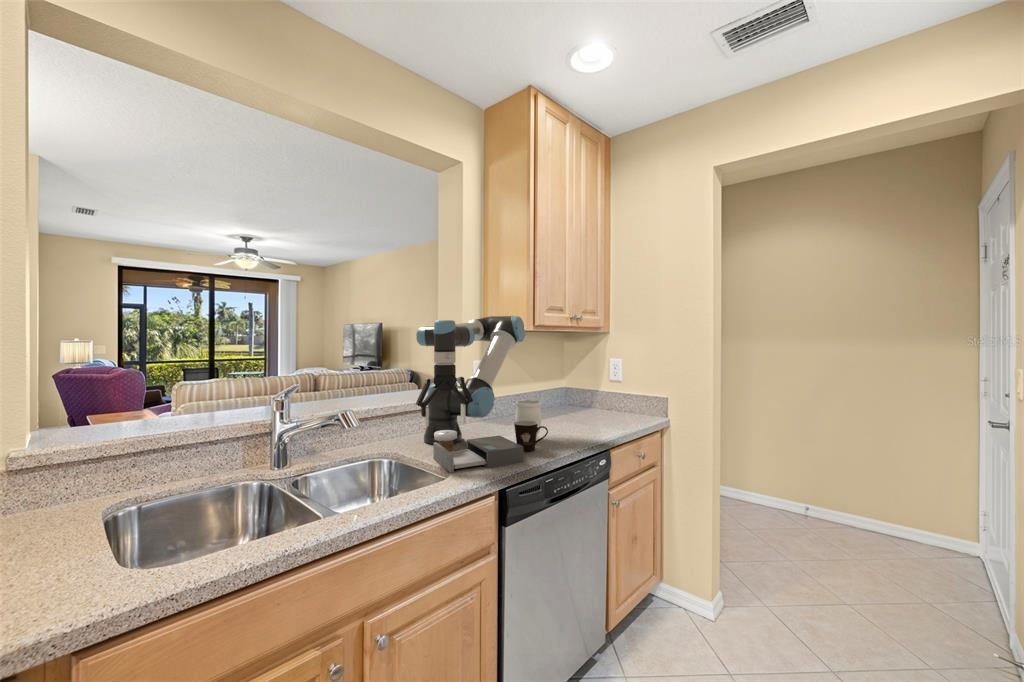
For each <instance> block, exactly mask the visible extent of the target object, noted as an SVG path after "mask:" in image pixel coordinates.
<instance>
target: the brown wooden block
mask: <svg viewBox="0 0 1024 682" xmlns="http://www.w3.org/2000/svg"><path fill="white" fill-rule="evenodd" d="M439 445H441V446H442V447H444V448H445V449H446V450H448V451H449V452H450V451H454V443H453V440H450V441H439Z"/></svg>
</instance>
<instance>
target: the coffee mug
mask: <svg viewBox="0 0 1024 682" xmlns="http://www.w3.org/2000/svg"><path fill="white" fill-rule="evenodd" d="M513 424H514V431H515V432H514V433H515V443H517V444H519V445H521V446H523V453H533V452H535V450H536V444H537V443H538V442H540V441H542V440H544V438H545V437H547V435H548V433H549V431H548V428H547V427H546V426H544V425H540V427H538V428H537V425H538V423H537V422H535V421H517V422H516V421H515V422H514V423H513ZM539 429H540V430H541V429H545V430H546V432H545V434H544V435H543V436H542V437H539V440H537V441H536V434H537V432H538V430H539Z"/></svg>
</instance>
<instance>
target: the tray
mask: <svg viewBox="0 0 1024 682" xmlns="http://www.w3.org/2000/svg"><path fill="white" fill-rule="evenodd" d="M432 446H433V460H434V461H436V462H437V463H438V464H439V465H440V466H442V468H444V469H445V470H447V471H448V472H449V473H450V474H451V473H452V474H453V473H454V470H455V469H456V470H457V469H462V468H469V467H474V466H475V467H476V466H482V465H483V464H486V460H485V459H483V458H482V457H480V456H479V455H477V454H475V453H474V452H472V451H471V450H469V449H467V448H466V449H459V450H453V451H450V452H449V451H448V450H446V449H445V448H444V447H442V446H441V445H439V444H438V443H437V442H435V443H433V444H432ZM483 466H484V465H483Z"/></svg>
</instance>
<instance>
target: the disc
mask: <svg viewBox="0 0 1024 682" xmlns="http://www.w3.org/2000/svg"><path fill="white" fill-rule="evenodd" d="M434 439H435V440H438V441H450V440H455V439H457V431H453V430H441V431H436V432H435V433H434Z"/></svg>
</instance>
